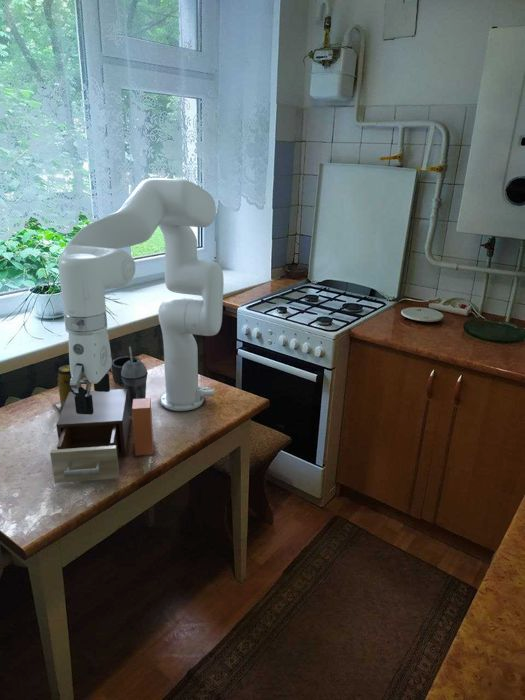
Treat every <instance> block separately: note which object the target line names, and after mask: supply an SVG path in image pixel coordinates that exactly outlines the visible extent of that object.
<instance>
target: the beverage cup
mask: <svg viewBox="0 0 525 700" xmlns="http://www.w3.org/2000/svg"><path fill="white" fill-rule="evenodd" d="M128 350H129V352H128V353H129V356H130V358H131V360H129V361H127V362H126V363H125V364H124V365H123V367H122V370H121V377H122V381H123V383H124V385H123V389H127V392H128V404H129V414H132V404H133V399H143V398H147V397H146V396H147V379H148V369H147V366H146V364H145V363H144V362H142V360H141V361H139V360H136V359H133V358H132V357H133V352H132V346H129V347H128Z"/></svg>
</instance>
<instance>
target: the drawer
mask: <svg viewBox="0 0 525 700" xmlns="http://www.w3.org/2000/svg"><path fill="white" fill-rule="evenodd" d="M119 448H120V433H119V424H112V425H96V426H80V427H64V428H63V431H62V434H61V437H60V439H59V440H58V442H57V445H56V449H51V450H50V452H49V454H50V460H51V468H52V475H53V480H54V481H53V482H54V484H63V483H74V482H75V483H76V482H87V481H89V482H90V481H98V480H99V481H101V480H102V481H103V480H113V479H120V468H119V456H118V454H119Z"/></svg>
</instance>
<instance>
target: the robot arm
mask: <svg viewBox="0 0 525 700" xmlns="http://www.w3.org/2000/svg"><path fill="white" fill-rule="evenodd" d="M216 207H217V206H216V202H215V200H214V197H213V196H212V195H211V193H210V192H208V191H207V190H206V189H204V188H203V187H201V186H199V185H198V184H196V183H195V182H193V181H190V180H188V179H187V180H186V179H180V178H162V177H161V178H159V177H154V178H153V177H150V178H147V179H144V180H142V181H141V182H140V183H139V184H138V185H137V186H136V188H135V189H134V190H133V192H132V193H131V194H130V195H129V197H128V198H127V199H126V200H125V202H124V203H123V204H122V206H121V207H120V208H119V209H118V210H117V211H115V212H113V213H109V214H108V215H105V216H103V217H101V218H99V219H97V220H95V221H93V222H91V223H89V224H87V225H85V226H83V227H82V228H81V229H79V230H78V231H77V232H76V233H75V234H74V236H72V238H71V239H70V241H68V243H67V244H66V245H65V247H64V248H63V251H62V253H61V255H60V259H59V260H58V265H57V266H58V276H59V277H58V278H59V284H60V293H61V302H62V311H63V319H64V320H63V321H64V329H65V332H67V333H68V361H69V365H70V372H71V377H72V378H71V380H70V386H71V388H72V393H73V396H74V398H75V406H76V413H77V414H90V415H91V414H93V412H94V410H93V400H92V395H90V391H92V385H93V391H98V392H109V391H110V390H111V385H110V374H109V373H110V371H109V369H112V360H113V359H112V351H111V344H110V343H111V342H110V338H109V337H110V336H109V332H108V318H107V308H106V295H105V294H106V293H105V291H106V290H112V289H119V288H123V287H125V286H127V285H128V284H129V283H130V282H131V281H132V280H133V278H134V277H135V274H136V262H135V259H134V257H133V256H132V255H131V254H130V253H129V252H127V251H126V250H123V248H129V247H133V246H138V245H140V244H143V243H146V242H148V241H149V240H150V239H151V238H152V236H154V234H155V231H156V230H157V229H158V228H159V229H160V231H161V233H162V236H163V240H164V284H165V287H166V289H167V290H168V291H170V292H172V293H174V294H175V293H176V294H183V295H190V296H200V297H202V300H201V299H193V298H185V297H184V298H183V297H170V298H166V299H164V300H163V301H162V302H161V303H160V305H159V307H158V313H157V314H158V315H157V316H158V322H159V325H160V329H161V335H162V340H163V341H162V342H163V361H164V363H163V364H164V365H163V366H164V383H165V386H164V387H165V392H164V393H163V394H162V395H161V397H160V405H161V406H162V407H163V408H165V409H167V410H170V411H175V412H186V411H192V410H195V409H198V408H199V407H201V406H202V405H203V404H204V400H205V397H215V390H214V389H210V386H205V387H202V386H200V382H199V357H198V356H199V355H198V353H199V352H198V351H199V349H198V348H199V347H198V344H197V340H196V338H195V337H194V335H196V336H204V337H213V336H216V335H217V334H218V333H219V332H220V330H221V327H222V323H223V309H224V308H223V306H224V305H223V304H224V285H225V284H224V281H225V280H224V272H223V269H222V267H221V265H220V264H219V263H217V262H216V261H212V260H205V259H199V258H198V240H197V236H196V234H195V232H194V230H193V229H192V227H193V228H208V227H209V226H211V225H212V223H213V222H214V220H215V218H216V213H217V208H216ZM80 384H81V386H80ZM82 385H85V388H84V386H82Z"/></svg>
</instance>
